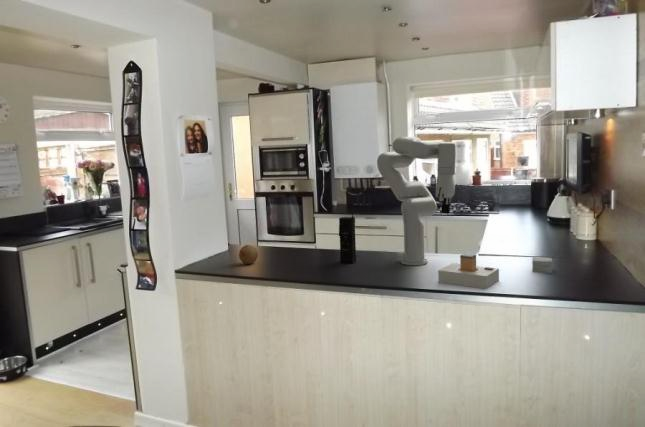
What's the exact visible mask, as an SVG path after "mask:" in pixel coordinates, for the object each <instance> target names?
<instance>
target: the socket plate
mask: <svg viewBox="0 0 645 427" xmlns="http://www.w3.org/2000/svg"><path fill="white" fill-rule="evenodd" d="M437 273H438V274H437V276H438V283H442V284H448V285H456V286H457V285H458V286H463V287H472V288H478V289H487V290H488V288H490V287H491V286H493V285H495V284H496V283H497V282H499V281H500V269H499V268H497V267H496V268H495V267H489V266H479V265H476V271H475V272H470V271H462V270H460V263H459V264H458V263H453V262H452V263H450V264H448V265H447V266H444V267H442V268H440V269H438V270H437Z"/></svg>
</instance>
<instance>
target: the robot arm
mask: <svg viewBox="0 0 645 427" xmlns="http://www.w3.org/2000/svg"><path fill="white" fill-rule="evenodd" d="M391 145H392V150H393V151H385V152H383V153H380V154H379V155H378V157H377V160H376V164H377V169H378V172H379V174H380V176H381V177H382V178H383V179H384V180H385V182H386V183H387V184H388V186H389V188H390V189H391V191H392V192H393V195H394V196H395V197H396V200H398V201H399V202H401V205H400V210H401V215H402V222H403V223H402V224H403V246H404V248H403V249H404V251H403V252H404V253H403V252H398V253H397V258H402V259H401V264H402V265H406V266H423V265H426V264H428V263H429V260H428V259H426V258H425V227H424V224H423V222H422V220H421V219H420V218H423V217H431V216H433V215H435V214H436V213H437V210H438V206H437V202H436V200H435V198H434V197H433V195H432V193H431V192H430V191H429V189H428V187H427V186H426V184H424V183H423V182H421V181H414V180H413V181H409V180H407V179H406V177H405V176H404V175H403V174H402V173H401V172H400V171H399V170H397V169H401V168H402V169H404V168H407V167H409V166H411V164H413V162H414V161H415V160H416V159H418V160H419V159H421V160H428V159H429V160H431V159H435V160H436V159H437V177H436V183H435V185H436V186H435V197H436V198H438V199H439V201H440V204H441V207H440V208H441V214H447V215H448V214H450V213H451V203H452V201H451V200H452V199H453V197H454V196H455V194H456V178H455V175H456V171H457V169H456V166H457V144H456V143H455V142H453V141H443V140H442V141H439V140H437V141H434V140H432V141H422V139H420V138H419V137H418V136H399V137H397V138H395V139H394V141H393V142H392V144H391Z"/></svg>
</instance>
